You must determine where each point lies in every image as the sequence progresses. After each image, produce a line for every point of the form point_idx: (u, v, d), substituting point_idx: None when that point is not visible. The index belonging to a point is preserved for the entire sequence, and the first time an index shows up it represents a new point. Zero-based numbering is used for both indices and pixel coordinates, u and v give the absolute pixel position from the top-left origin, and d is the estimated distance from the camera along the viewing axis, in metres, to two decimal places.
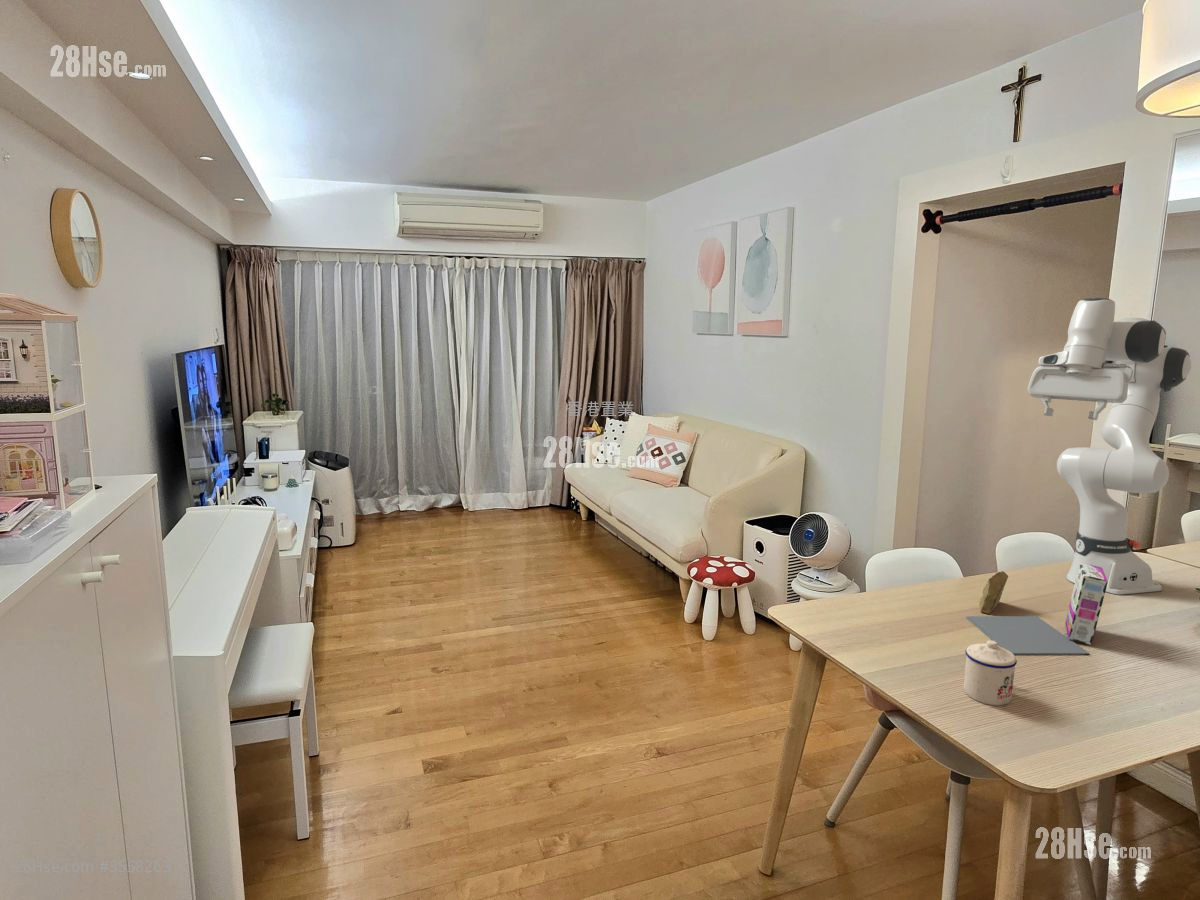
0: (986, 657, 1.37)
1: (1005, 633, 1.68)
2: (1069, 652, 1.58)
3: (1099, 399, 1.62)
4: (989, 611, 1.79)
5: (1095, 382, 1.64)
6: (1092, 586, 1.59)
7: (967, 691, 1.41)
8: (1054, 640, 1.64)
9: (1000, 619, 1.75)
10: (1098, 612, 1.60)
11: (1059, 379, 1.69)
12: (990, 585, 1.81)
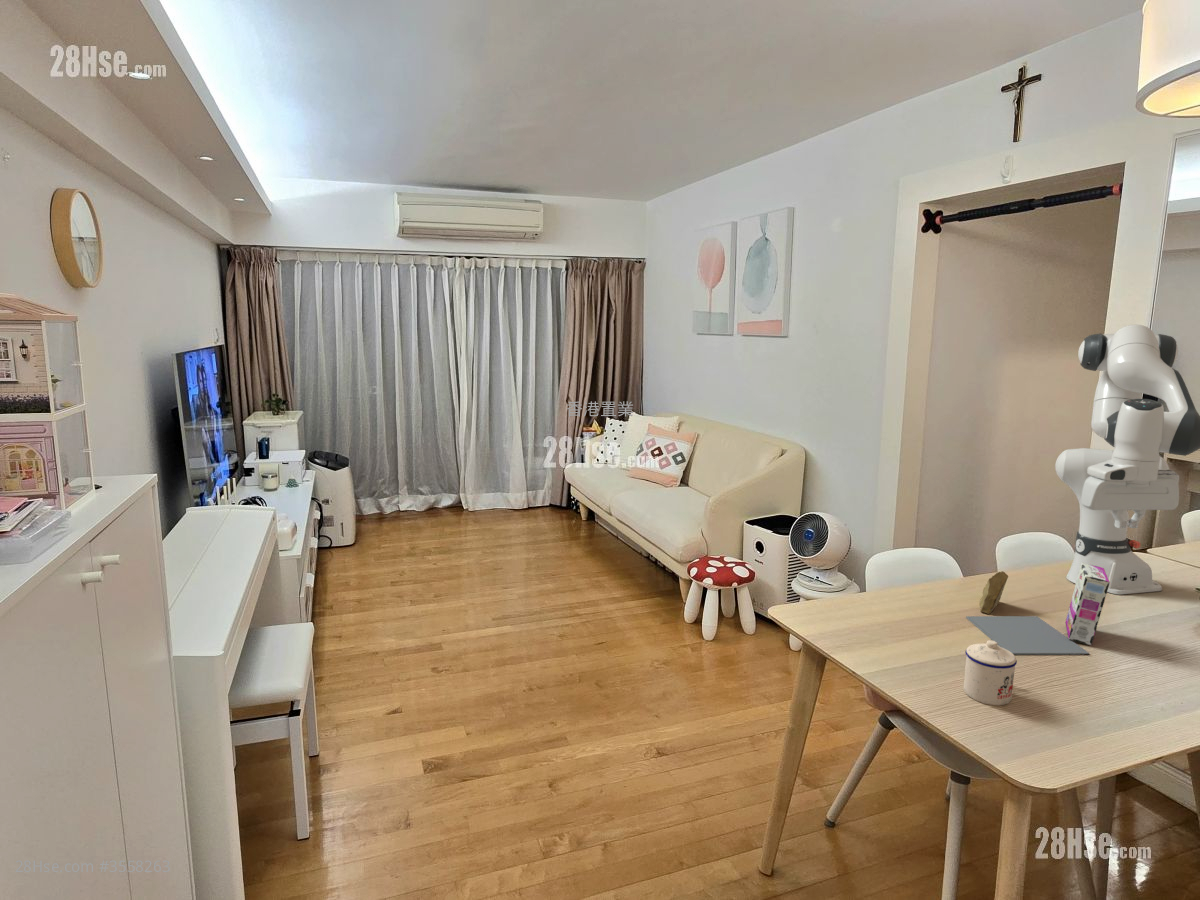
0: (986, 657, 1.37)
1: (1005, 633, 1.68)
2: (1069, 652, 1.58)
3: (1157, 509, 1.60)
4: (989, 611, 1.79)
5: (1153, 493, 1.59)
6: (1094, 587, 1.59)
7: (967, 691, 1.41)
8: (1054, 640, 1.64)
9: (1000, 619, 1.75)
10: (1099, 613, 1.60)
11: (1120, 491, 1.59)
12: (990, 585, 1.81)
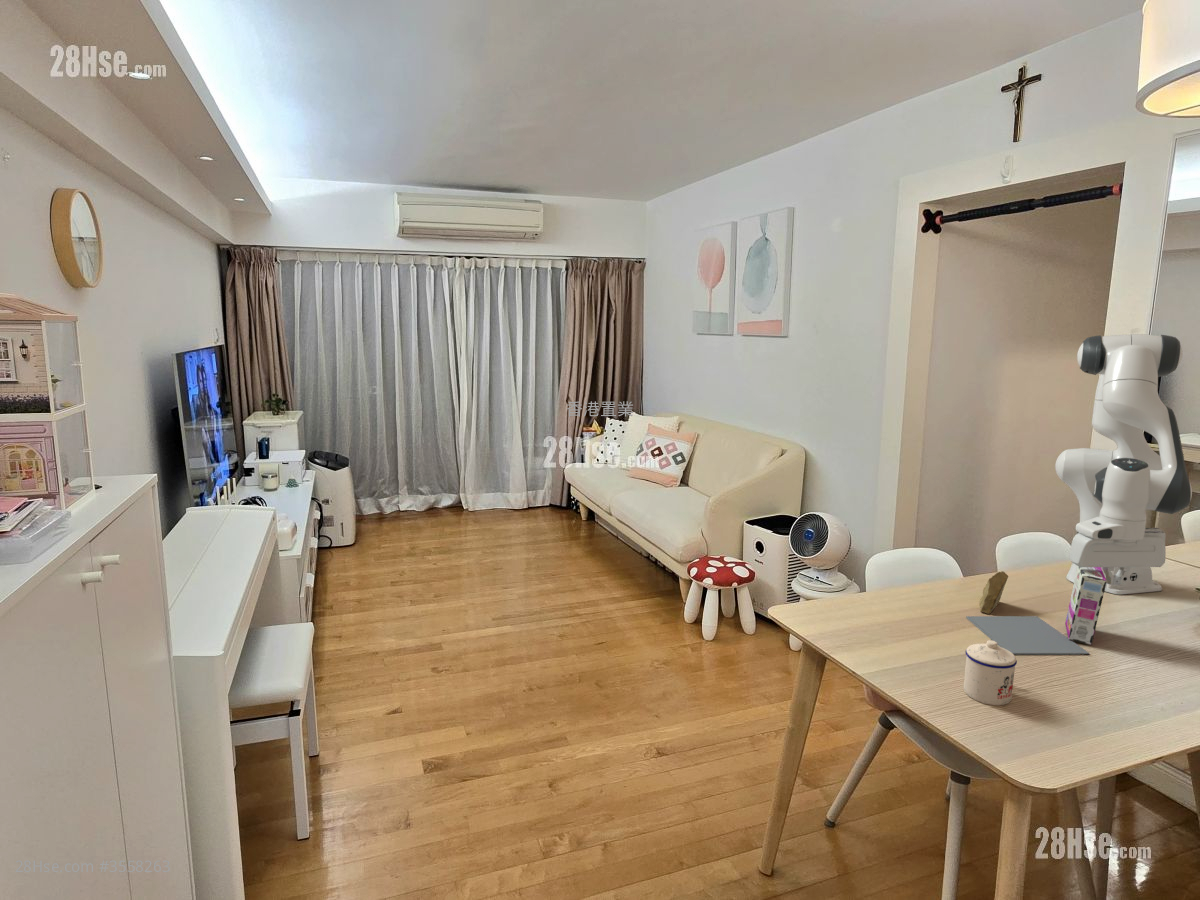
0: (986, 657, 1.37)
1: (1005, 633, 1.68)
2: (1069, 652, 1.58)
3: (1144, 567, 1.62)
4: (989, 611, 1.79)
5: (1140, 550, 1.61)
6: (1091, 586, 1.60)
7: (967, 691, 1.41)
8: (1054, 640, 1.64)
9: (1000, 619, 1.75)
10: (1097, 612, 1.60)
11: (1108, 549, 1.61)
12: (990, 585, 1.81)
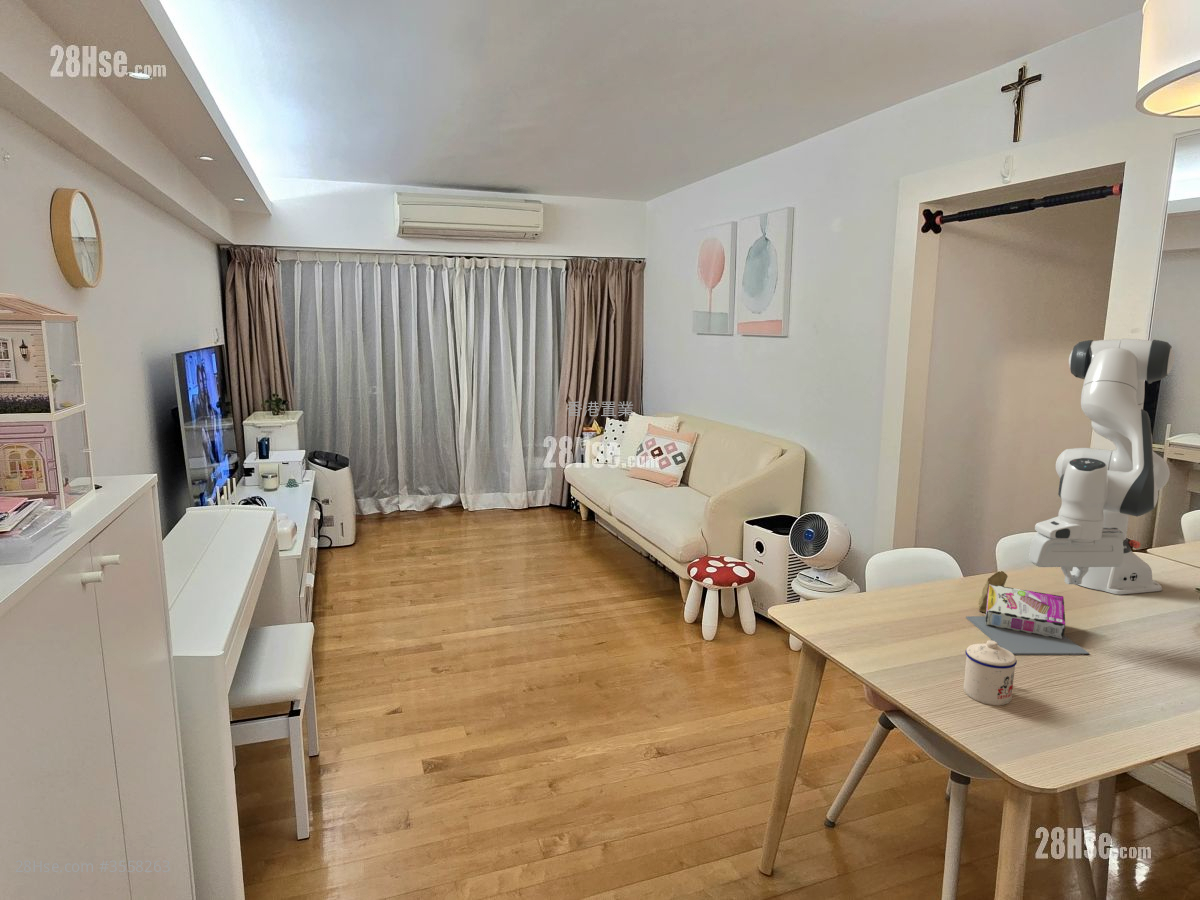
0: (986, 657, 1.37)
1: (1005, 633, 1.68)
2: (1069, 652, 1.58)
3: (1102, 566, 1.62)
4: None
5: (1098, 550, 1.61)
6: (995, 620, 1.70)
7: (967, 691, 1.41)
8: (1054, 640, 1.64)
9: None
10: (1024, 618, 1.66)
11: (1066, 549, 1.62)
12: None
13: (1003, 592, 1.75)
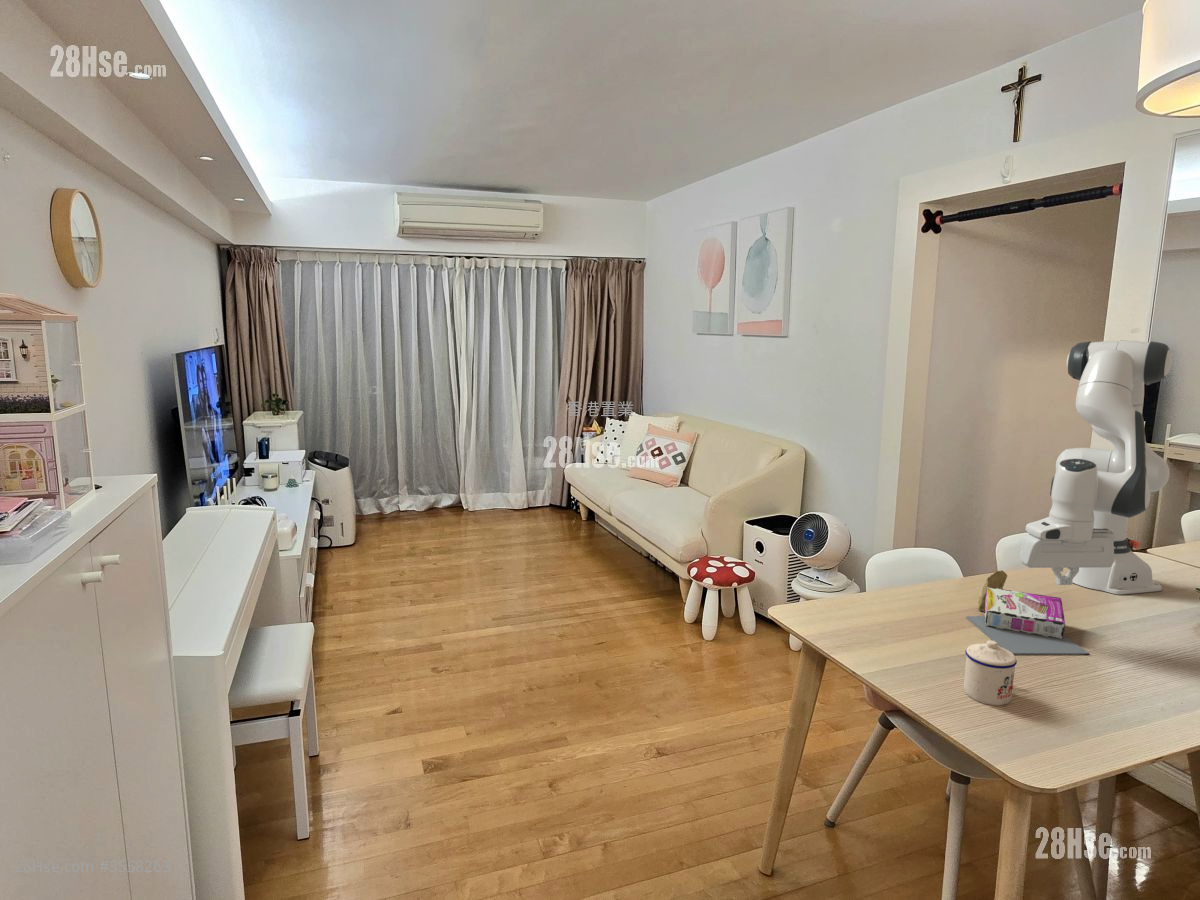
0: (986, 657, 1.37)
1: (1005, 633, 1.68)
2: (1069, 652, 1.58)
3: None
4: None
5: (1088, 551, 1.62)
6: (995, 621, 1.70)
7: (967, 691, 1.41)
8: (1054, 640, 1.64)
9: None
10: (1024, 617, 1.66)
11: (1057, 550, 1.62)
12: (988, 584, 1.82)
13: (1002, 593, 1.75)
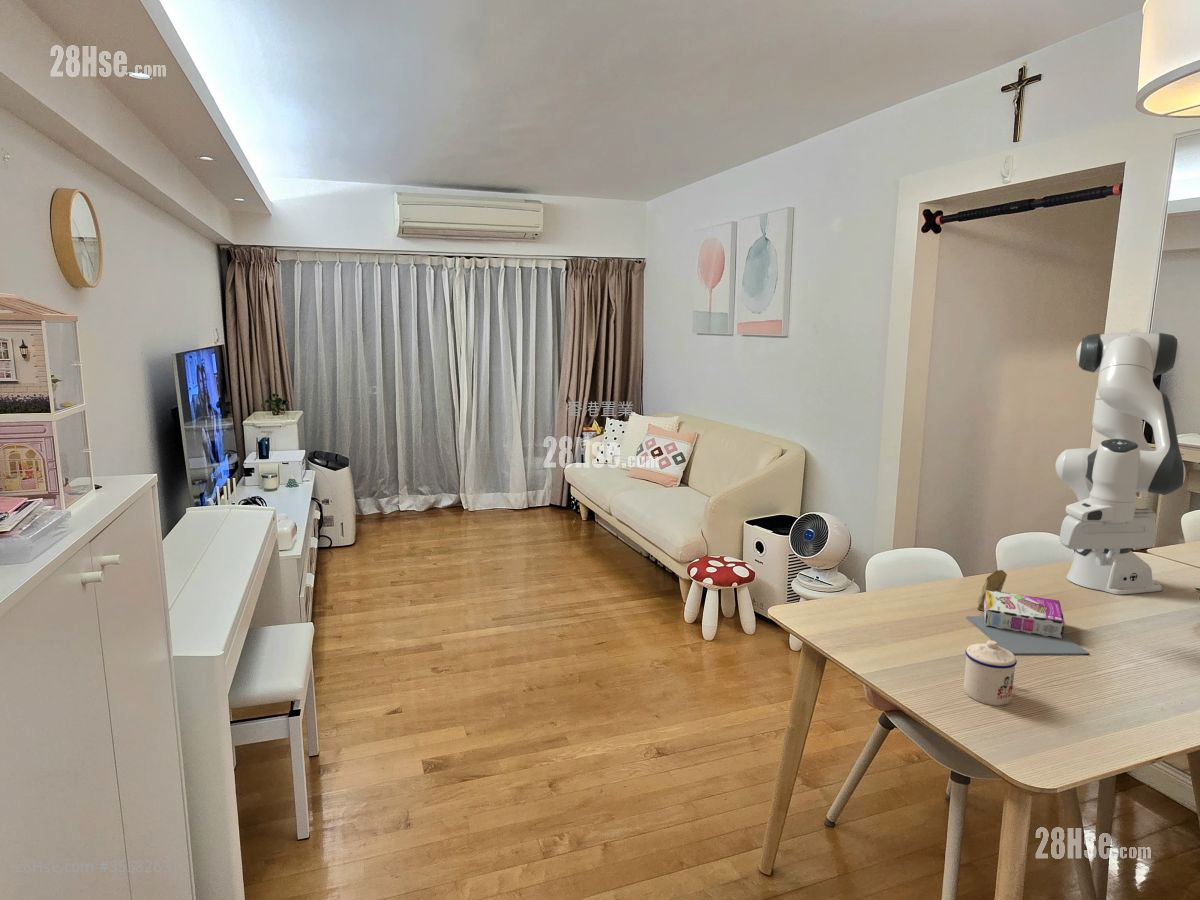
0: (986, 657, 1.37)
1: (1005, 633, 1.68)
2: (1069, 652, 1.58)
3: (1134, 547, 1.62)
4: None
5: (1130, 531, 1.61)
6: (995, 620, 1.70)
7: (967, 691, 1.41)
8: (1054, 640, 1.64)
9: None
10: (1023, 616, 1.67)
11: (1098, 531, 1.61)
12: (988, 583, 1.82)
13: (1001, 595, 1.76)
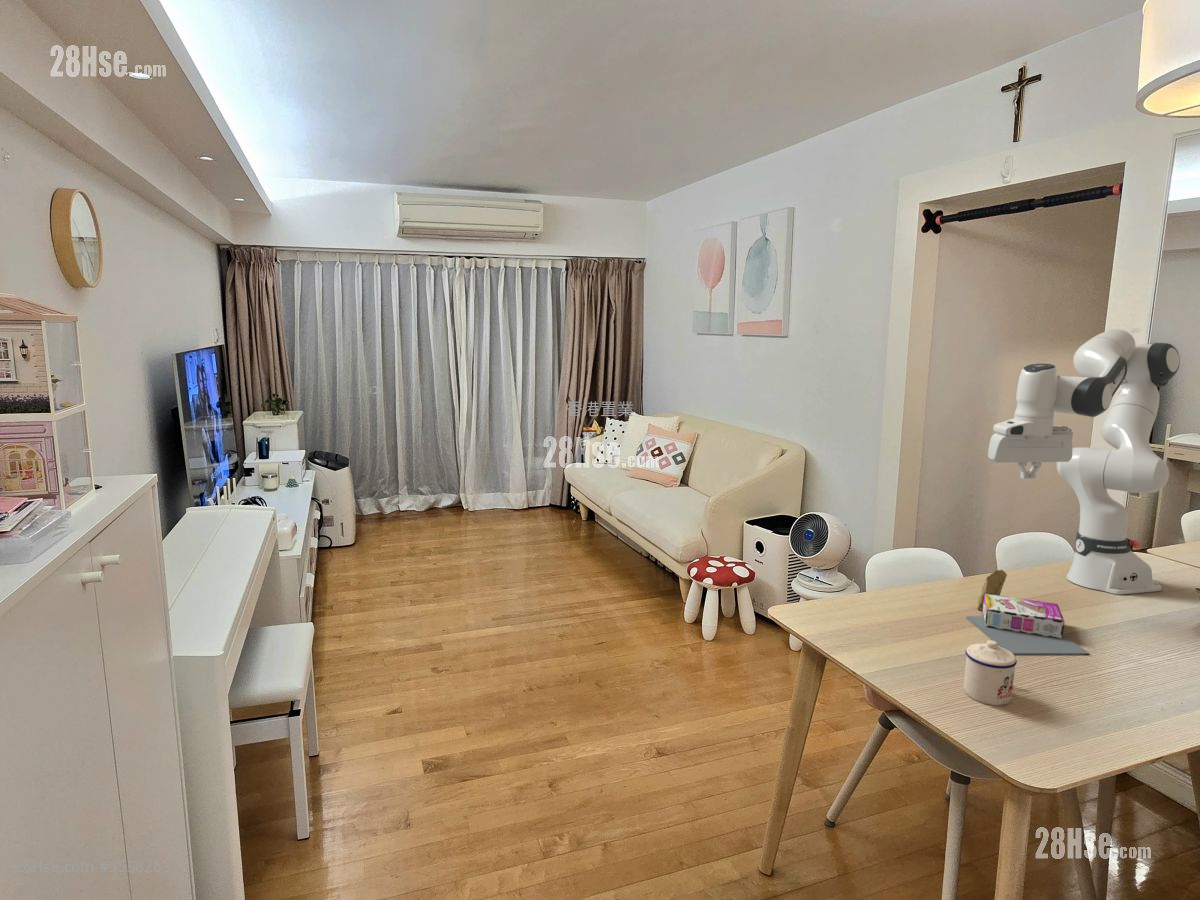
0: (986, 657, 1.37)
1: (1005, 633, 1.68)
2: (1069, 652, 1.58)
3: (1053, 461, 1.80)
4: None
5: (1049, 446, 1.79)
6: (995, 620, 1.70)
7: (967, 691, 1.41)
8: (1054, 640, 1.64)
9: None
10: (1023, 616, 1.67)
11: (1021, 445, 1.79)
12: (988, 583, 1.82)
13: (999, 598, 1.76)
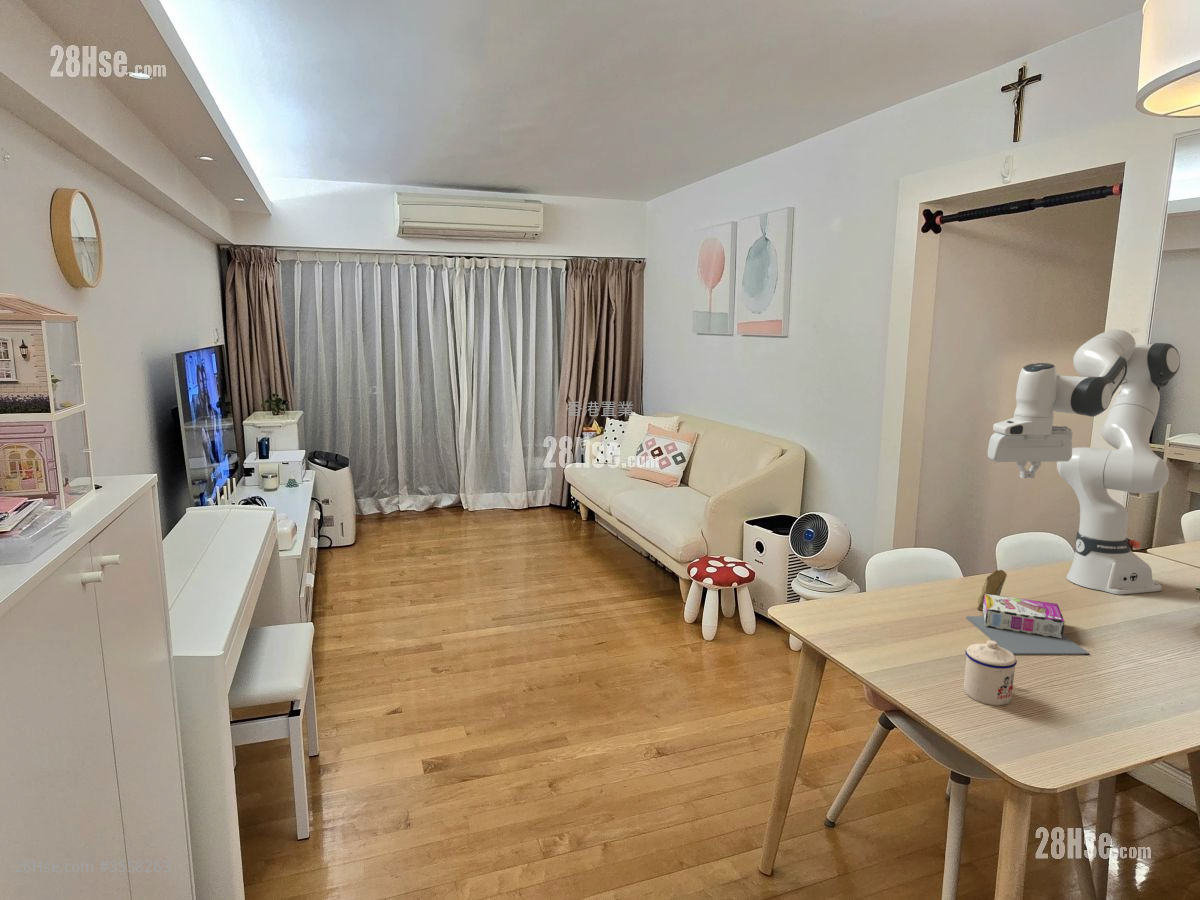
0: (986, 657, 1.37)
1: (1005, 633, 1.68)
2: (1069, 652, 1.58)
3: (1053, 461, 1.80)
4: None
5: (1049, 446, 1.79)
6: (995, 620, 1.70)
7: (967, 691, 1.41)
8: (1054, 640, 1.64)
9: None
10: (1023, 616, 1.67)
11: (1020, 445, 1.79)
12: (988, 583, 1.82)
13: (999, 598, 1.76)
